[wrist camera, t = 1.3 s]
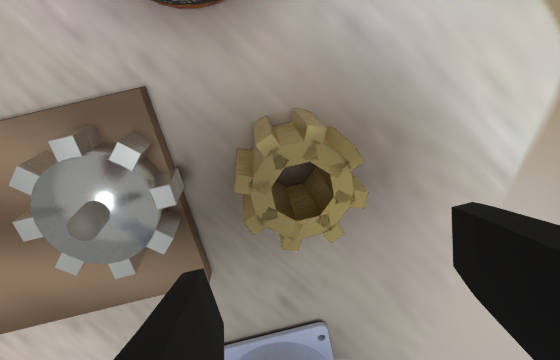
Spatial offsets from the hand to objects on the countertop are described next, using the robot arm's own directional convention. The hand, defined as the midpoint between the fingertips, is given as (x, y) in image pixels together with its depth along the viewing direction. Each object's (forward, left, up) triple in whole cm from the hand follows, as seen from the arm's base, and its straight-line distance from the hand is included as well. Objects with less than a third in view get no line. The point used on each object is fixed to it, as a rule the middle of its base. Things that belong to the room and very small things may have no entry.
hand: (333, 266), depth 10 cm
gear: (+1, +9, -8) cm, 12 cm away
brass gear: (0, 0, -9) cm, 9 cm away
